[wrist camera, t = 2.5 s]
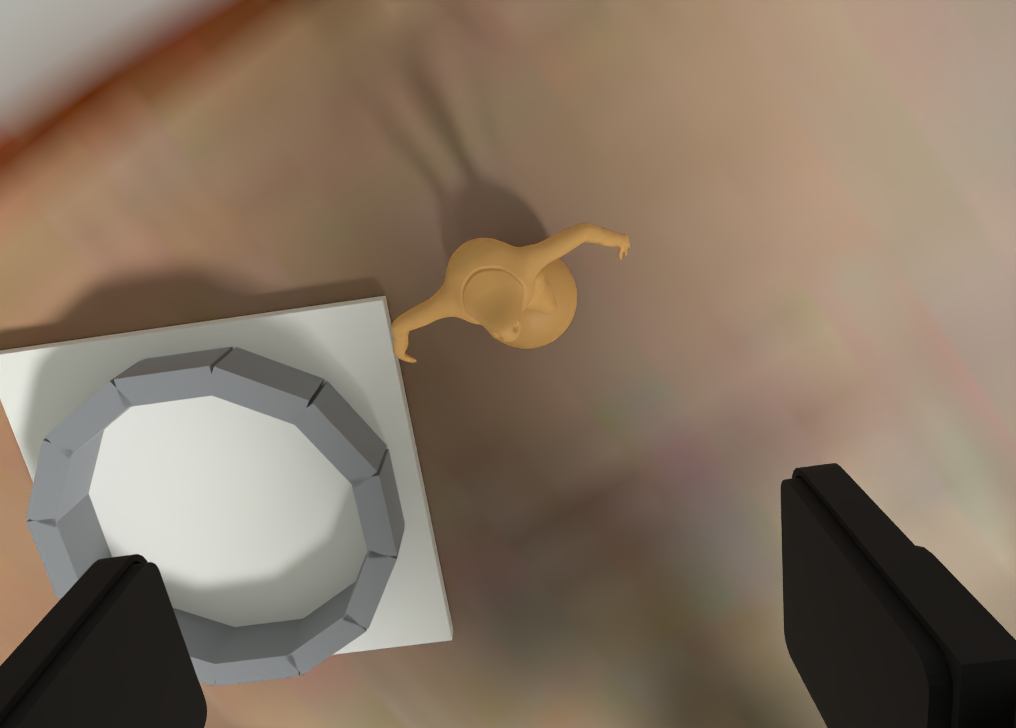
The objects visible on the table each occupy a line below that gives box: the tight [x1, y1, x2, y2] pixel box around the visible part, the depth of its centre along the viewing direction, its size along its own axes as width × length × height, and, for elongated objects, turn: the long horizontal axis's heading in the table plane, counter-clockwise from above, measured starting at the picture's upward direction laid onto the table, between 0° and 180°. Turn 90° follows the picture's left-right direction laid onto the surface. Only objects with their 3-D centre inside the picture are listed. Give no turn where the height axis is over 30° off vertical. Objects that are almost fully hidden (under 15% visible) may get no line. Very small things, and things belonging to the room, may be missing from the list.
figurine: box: [391, 223, 630, 363], centre depth 25 cm, size 8×6×12 cm
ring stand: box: [0, 296, 453, 686], centre depth 32 cm, size 17×17×3 cm
